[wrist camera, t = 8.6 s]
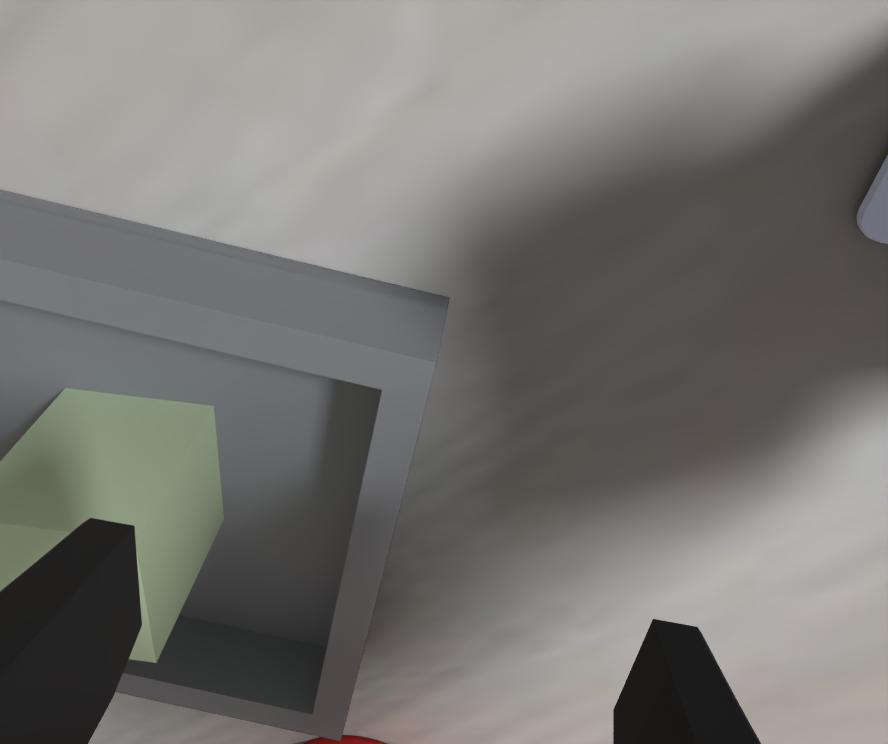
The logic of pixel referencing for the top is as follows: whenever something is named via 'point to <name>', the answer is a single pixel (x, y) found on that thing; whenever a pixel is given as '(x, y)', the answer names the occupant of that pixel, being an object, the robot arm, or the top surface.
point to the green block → (118, 493)
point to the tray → (237, 434)
